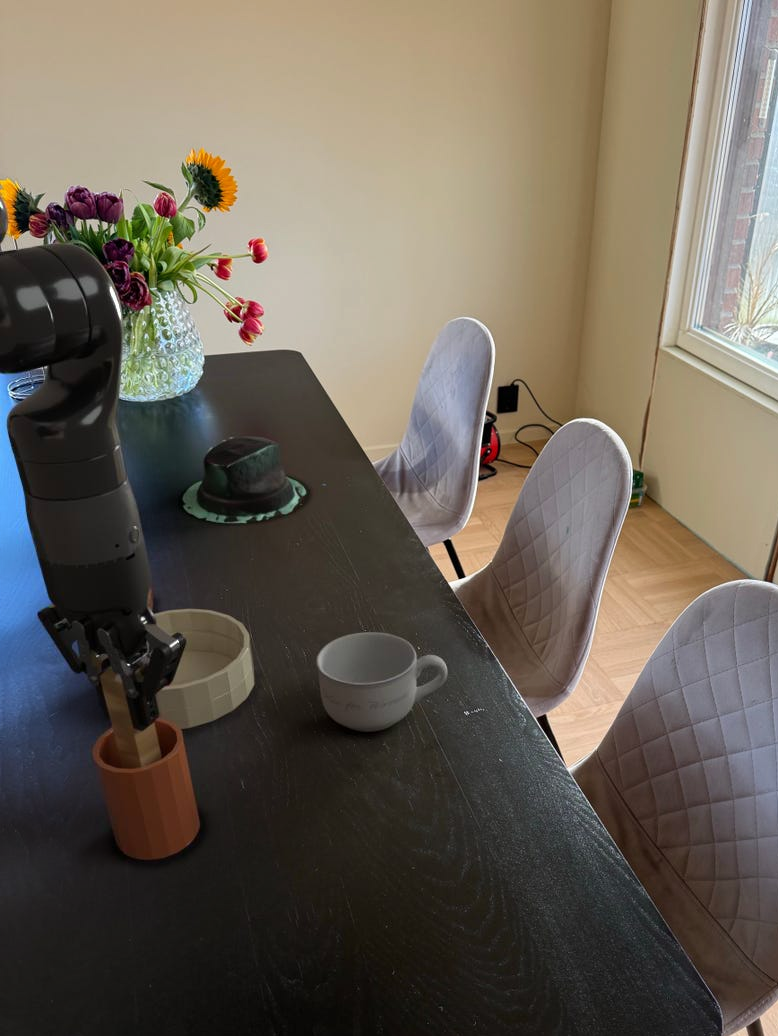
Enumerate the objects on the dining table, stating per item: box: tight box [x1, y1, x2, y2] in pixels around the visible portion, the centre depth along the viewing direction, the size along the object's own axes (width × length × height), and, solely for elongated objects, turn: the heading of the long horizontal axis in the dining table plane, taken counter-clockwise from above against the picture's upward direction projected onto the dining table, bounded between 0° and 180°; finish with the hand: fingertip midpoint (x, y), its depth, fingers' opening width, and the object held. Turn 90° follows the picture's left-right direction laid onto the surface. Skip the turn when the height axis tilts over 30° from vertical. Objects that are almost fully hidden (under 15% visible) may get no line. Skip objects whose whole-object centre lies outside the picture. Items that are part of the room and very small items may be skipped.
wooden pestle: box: [100, 668, 162, 769], centre depth 78 cm, size 5×5×18 cm
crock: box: [92, 718, 201, 861], centre depth 80 cm, size 7×7×11 cm
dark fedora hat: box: [182, 436, 307, 524], centre depth 146 cm, size 15×19×20 cm
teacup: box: [315, 631, 448, 733], centre depth 97 cm, size 14×11×8 cm
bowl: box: [153, 608, 255, 730], centre depth 100 cm, size 16×16×6 cm
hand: (132, 719), depth 75 cm, fingers closed on wooden pestle, 2 cm apart
